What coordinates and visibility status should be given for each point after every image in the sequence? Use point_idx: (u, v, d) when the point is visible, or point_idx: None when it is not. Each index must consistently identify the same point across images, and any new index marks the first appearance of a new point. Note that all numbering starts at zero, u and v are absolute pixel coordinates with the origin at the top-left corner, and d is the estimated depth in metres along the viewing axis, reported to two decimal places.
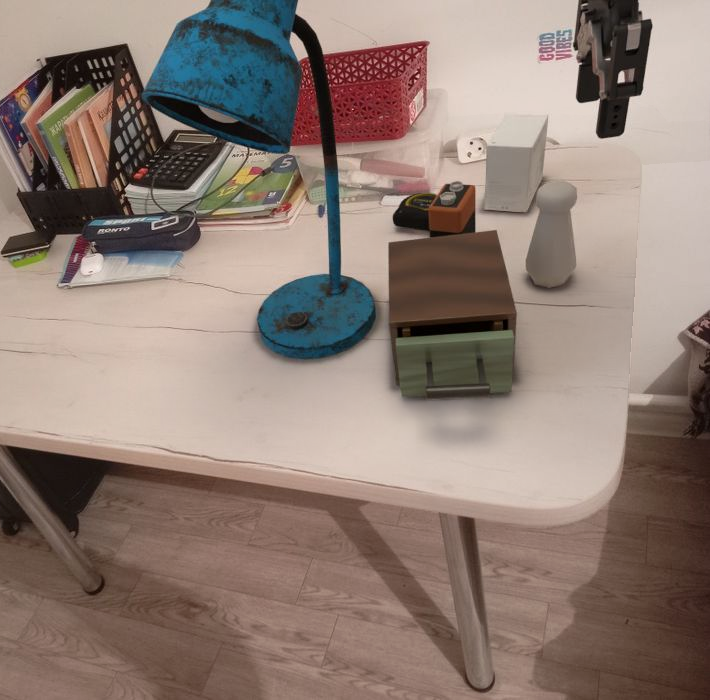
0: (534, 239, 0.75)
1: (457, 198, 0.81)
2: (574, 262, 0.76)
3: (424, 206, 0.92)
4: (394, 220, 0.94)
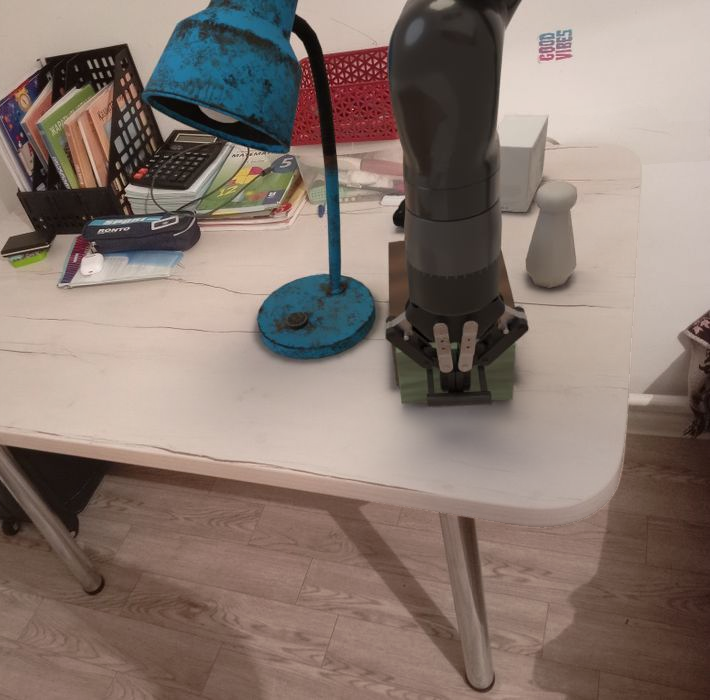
0: (534, 239, 0.75)
1: None
2: (574, 262, 0.76)
3: None
4: (394, 220, 0.94)
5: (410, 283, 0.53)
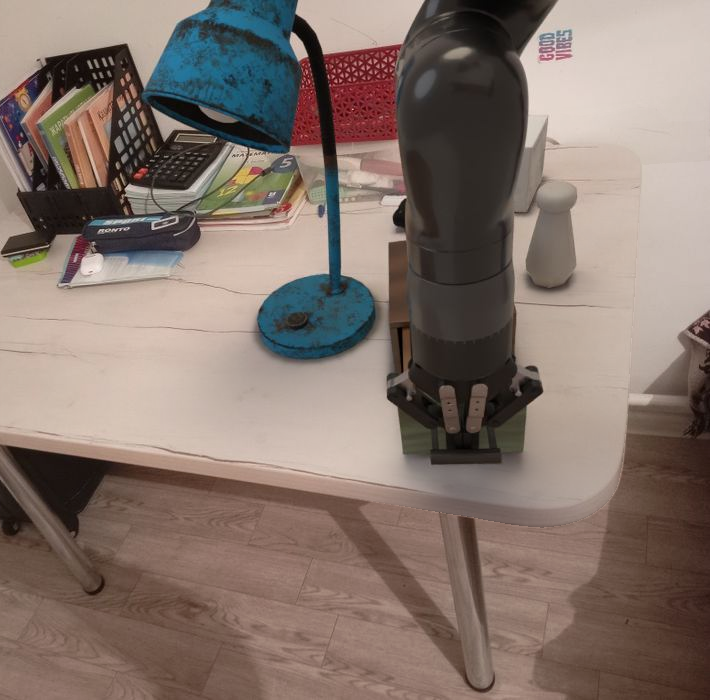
0: (534, 239, 0.75)
1: None
2: (574, 262, 0.76)
3: None
4: (394, 220, 0.94)
5: (413, 343, 0.49)
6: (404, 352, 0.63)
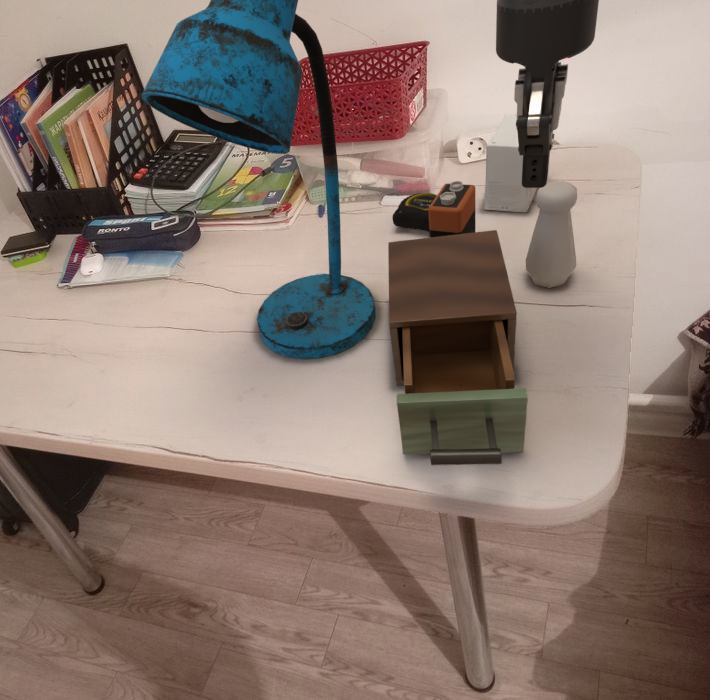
0: (534, 239, 0.75)
1: (457, 198, 0.81)
2: (574, 262, 0.76)
3: (424, 206, 0.92)
4: (394, 220, 0.94)
5: (557, 36, 0.48)
6: (404, 352, 0.63)
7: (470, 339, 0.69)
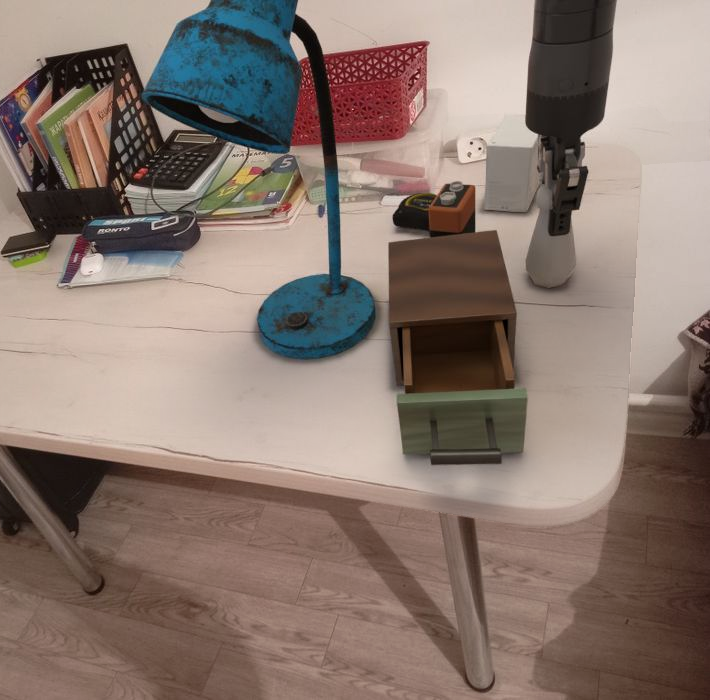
0: (534, 239, 0.75)
1: (457, 198, 0.81)
2: (574, 262, 0.76)
3: (424, 206, 0.92)
4: (394, 220, 0.94)
5: (585, 114, 0.62)
6: (404, 352, 0.63)
7: (470, 339, 0.69)
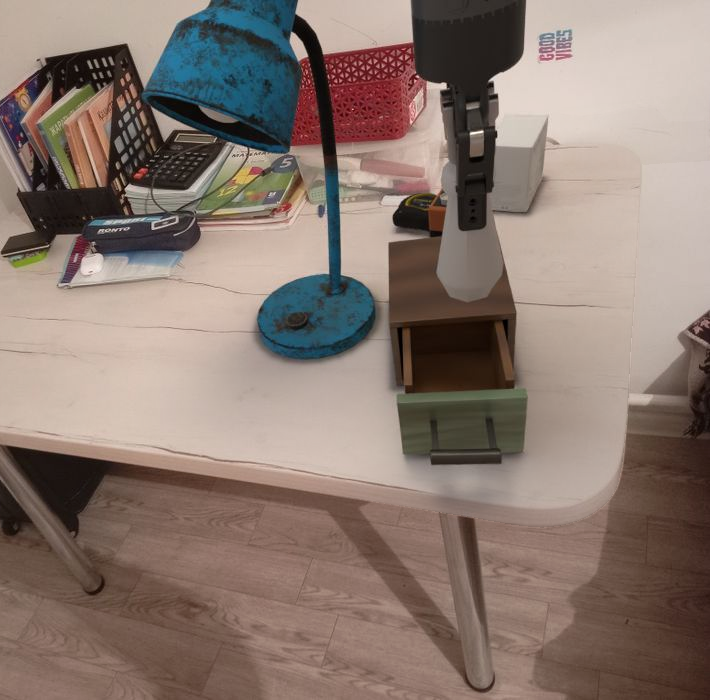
0: (444, 236, 0.55)
1: None
2: (499, 267, 0.55)
3: (424, 206, 0.92)
4: (394, 220, 0.94)
5: (490, 48, 0.41)
6: (404, 352, 0.63)
7: (470, 339, 0.69)
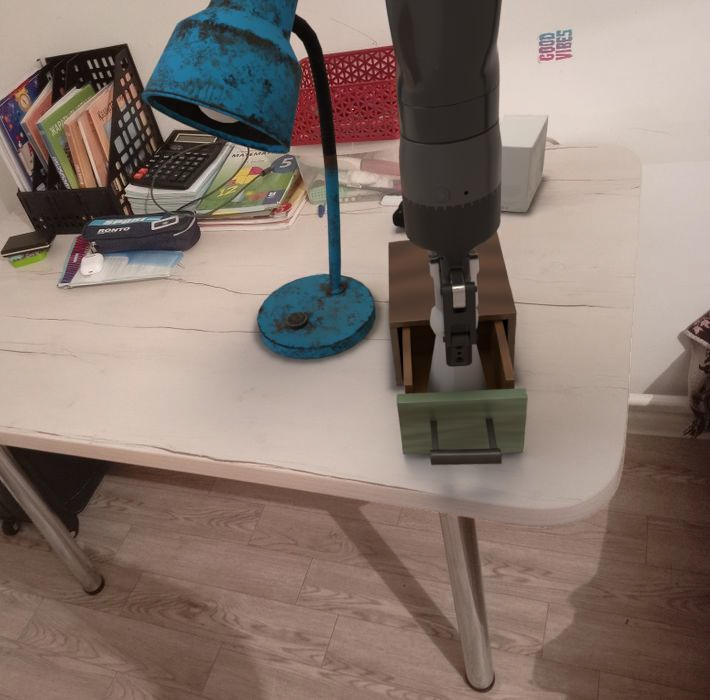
0: (433, 363, 0.61)
1: None
2: None
3: None
4: (394, 220, 0.94)
5: (470, 228, 0.47)
6: (404, 352, 0.63)
7: None
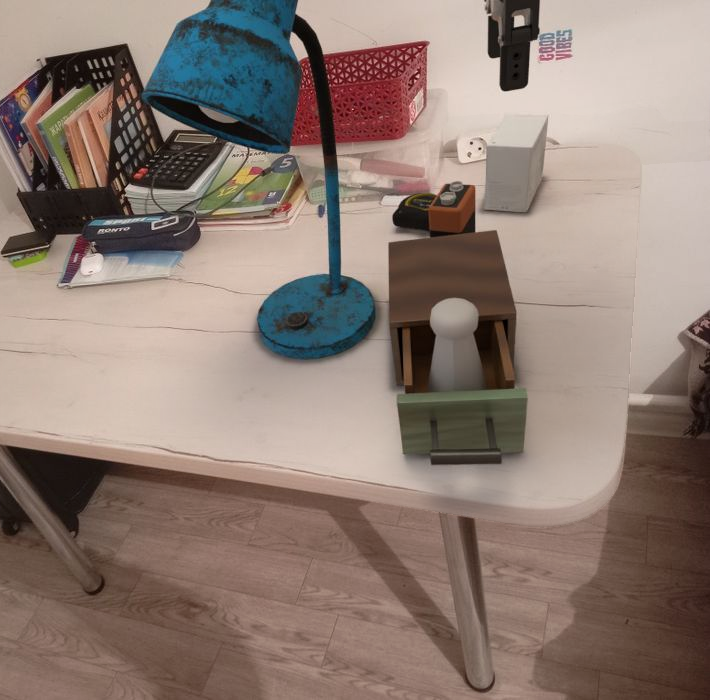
0: (433, 363, 0.61)
1: (457, 198, 0.81)
2: None
3: (423, 206, 0.92)
4: (394, 220, 0.94)
5: None
6: (404, 352, 0.63)
7: None
